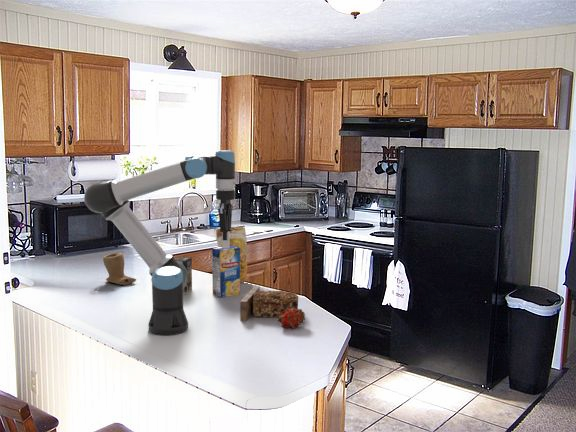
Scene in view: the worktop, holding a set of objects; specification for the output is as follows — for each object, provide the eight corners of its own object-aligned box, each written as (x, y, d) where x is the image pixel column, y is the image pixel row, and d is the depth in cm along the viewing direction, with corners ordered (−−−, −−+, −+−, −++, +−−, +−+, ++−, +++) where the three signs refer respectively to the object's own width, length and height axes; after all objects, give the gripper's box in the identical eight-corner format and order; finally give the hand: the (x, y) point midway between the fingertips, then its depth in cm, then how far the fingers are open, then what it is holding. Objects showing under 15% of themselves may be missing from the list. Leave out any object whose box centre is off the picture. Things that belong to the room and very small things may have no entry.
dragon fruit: (307, 329, 246) (280, 337, 241) (298, 312, 251) (271, 320, 246) (311, 316, 240) (284, 325, 235) (302, 299, 245) (274, 307, 240)
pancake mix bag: (212, 283, 308) (212, 228, 304) (244, 278, 320) (244, 224, 316) (220, 286, 303) (219, 230, 299) (252, 280, 315) (252, 226, 311)
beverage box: (212, 294, 289) (212, 248, 286) (232, 290, 296) (231, 245, 293) (220, 297, 284) (220, 250, 281) (240, 293, 291) (240, 247, 287)
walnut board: (246, 320, 250) (246, 301, 249) (240, 320, 251) (240, 301, 250) (259, 304, 274) (259, 286, 273) (254, 303, 274) (254, 286, 273)
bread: (252, 318, 255) (252, 294, 253) (254, 310, 265) (254, 287, 264) (297, 319, 254) (298, 295, 252) (298, 311, 264) (298, 288, 263)
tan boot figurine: (99, 282, 309) (98, 253, 307) (120, 278, 317) (119, 249, 315) (115, 288, 298) (114, 257, 296) (137, 283, 307) (136, 254, 305)
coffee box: (185, 295, 287) (185, 261, 285) (172, 294, 289) (172, 260, 286) (192, 289, 296) (192, 257, 294) (180, 289, 298) (179, 256, 295)
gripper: (230, 191, 239) (230, 251, 243) (238, 188, 252) (239, 245, 255) (211, 190, 241) (212, 250, 244) (221, 187, 253) (221, 244, 257)
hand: (225, 247), depth 250 cm, fingers closed
